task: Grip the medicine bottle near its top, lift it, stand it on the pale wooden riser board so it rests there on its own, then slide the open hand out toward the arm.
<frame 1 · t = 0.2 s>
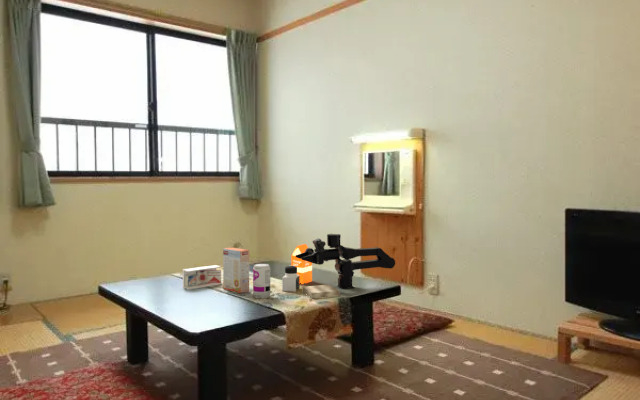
hand: (298, 257, 244), 17 cm above the table, tool horizontal, fingers open, 9 cm apart
cracker box: (236, 290, 246), on the table
cigarette display: (203, 286, 257), on the table
pale wooden riser board: (320, 293, 239), on the table
medicine bottle: (291, 290, 247), on the table
supplement can: (261, 296, 234), on the table
orange juice: (301, 282, 266), on the table
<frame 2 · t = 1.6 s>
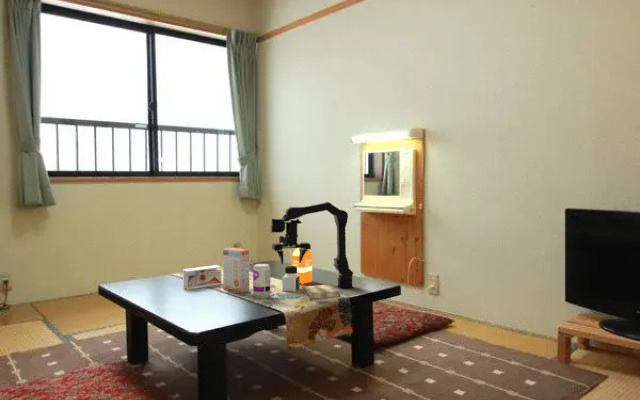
hand: (291, 263, 247), 13 cm above the table, tool pointing down, fingers open, 9 cm apart
nothing on the table moved.
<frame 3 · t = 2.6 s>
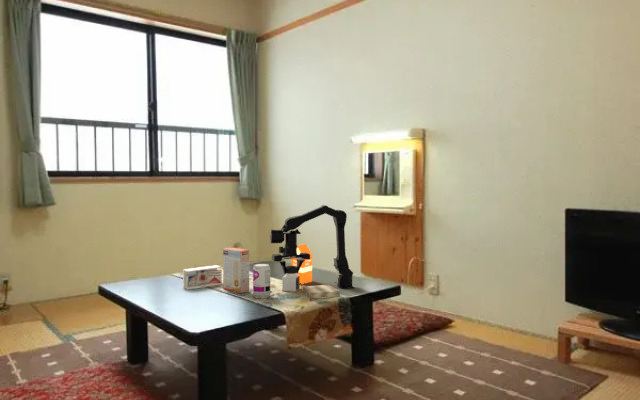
hand: (291, 273, 247), 8 cm above the table, tool pointing down, fingers closed on medicine bottle, 6 cm apart
medicine bottle: (291, 290, 247), on the table, touching gripper
everything else where it was.
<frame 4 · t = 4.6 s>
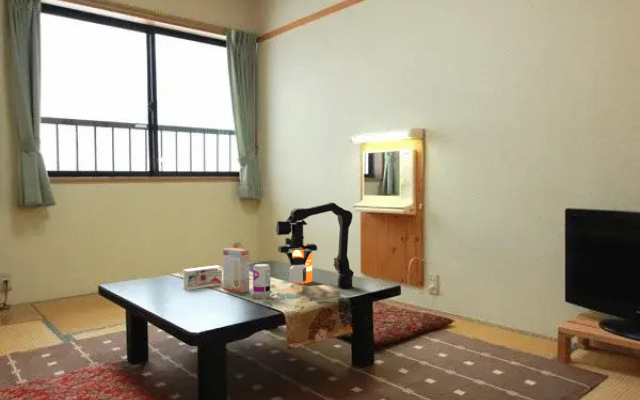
hand: (297, 265, 245), 13 cm above the table, tool pointing down, fingers closed on medicine bottle, 6 cm apart
medicine bottle: (298, 281, 245), point 4 cm above the table, touching gripper
everything else where it was.
when the fingers open (11 cm above the table, at t = 6.5 s): medicine bottle stays where it is, resting on pale wooden riser board.
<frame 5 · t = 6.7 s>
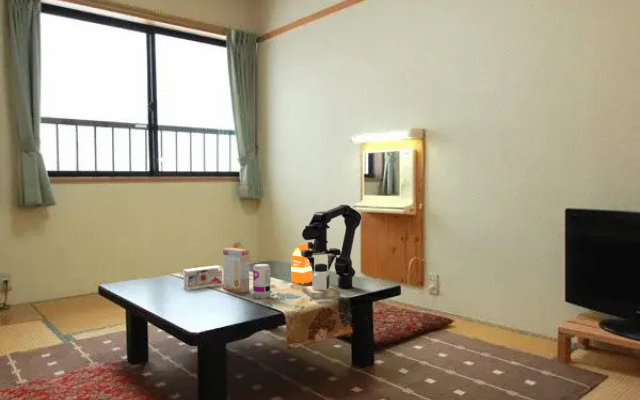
hand: (320, 270, 239), 11 cm above the table, tool pointing down, fingers open, 8 cm apart
medicine bottle: (321, 289, 239), point 2 cm above the table, touching pale wooden riser board
everything else where it was.
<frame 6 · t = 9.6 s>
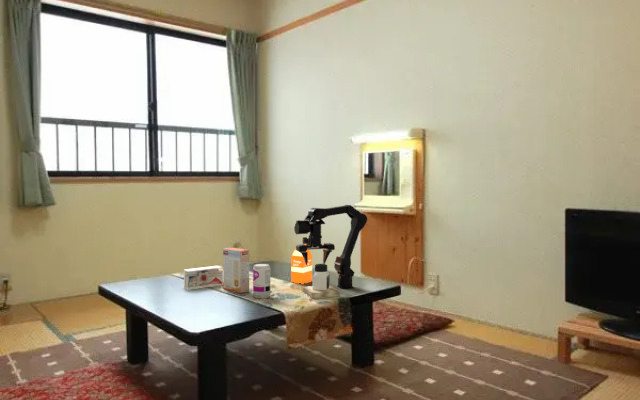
hand: (315, 264, 246), 13 cm above the table, tool pointing down, fingers open, 9 cm apart
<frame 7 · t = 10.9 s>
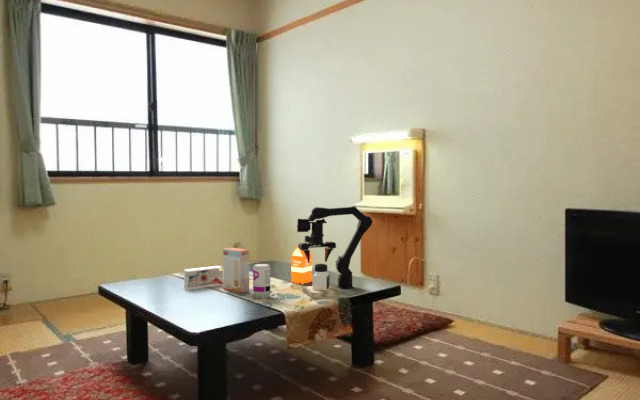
hand: (317, 262, 252), 13 cm above the table, tool pointing down, fingers open, 9 cm apart
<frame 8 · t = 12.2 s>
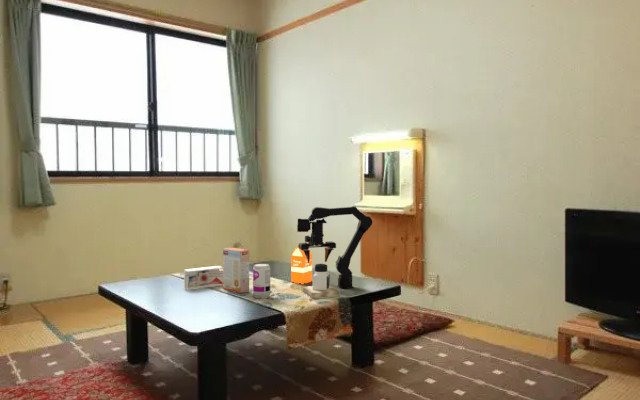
hand: (317, 262, 252), 13 cm above the table, tool pointing down, fingers open, 9 cm apart
at the end: medicine bottle inside the target area on the pale wooden riser board (0.1 cm from its centre), point 2.3 cm above the pale wooden riser board's base; medicine bottle tilted 0°; medicine bottle touching pale wooden riser board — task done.
